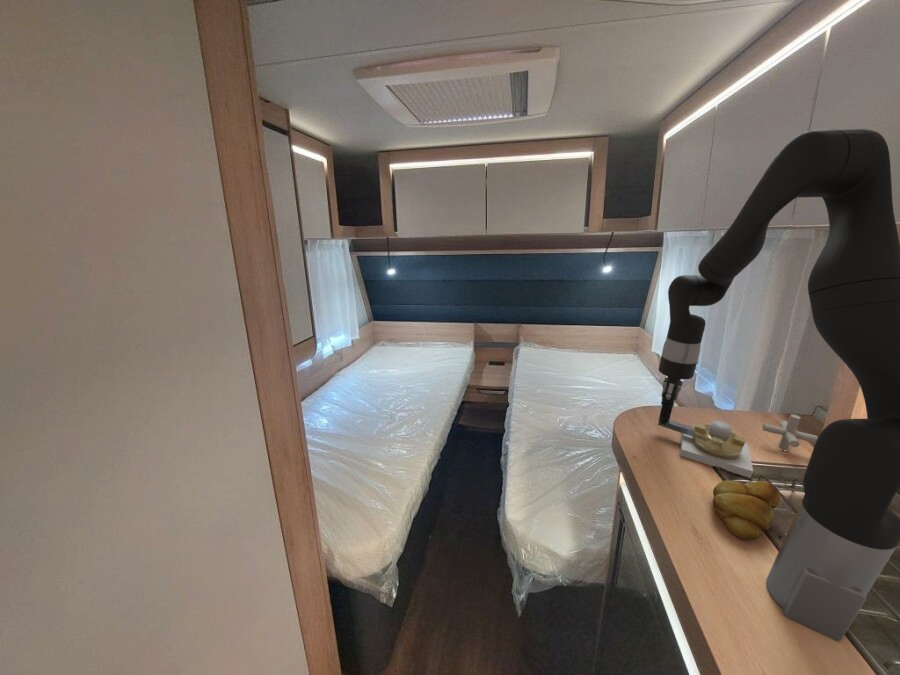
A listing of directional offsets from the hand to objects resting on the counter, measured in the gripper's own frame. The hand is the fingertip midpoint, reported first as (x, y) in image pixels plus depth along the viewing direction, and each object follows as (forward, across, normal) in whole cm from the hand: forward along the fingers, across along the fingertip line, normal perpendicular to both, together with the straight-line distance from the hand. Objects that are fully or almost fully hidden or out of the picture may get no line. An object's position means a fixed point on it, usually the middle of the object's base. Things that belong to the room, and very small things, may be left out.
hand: (664, 417), depth 90 cm
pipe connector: (+8, +16, -26) cm, 32 cm away
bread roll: (+8, -18, -17) cm, 26 cm away
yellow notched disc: (+5, +3, -8) cm, 10 cm away
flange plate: (+8, +3, -12) cm, 14 cm away
